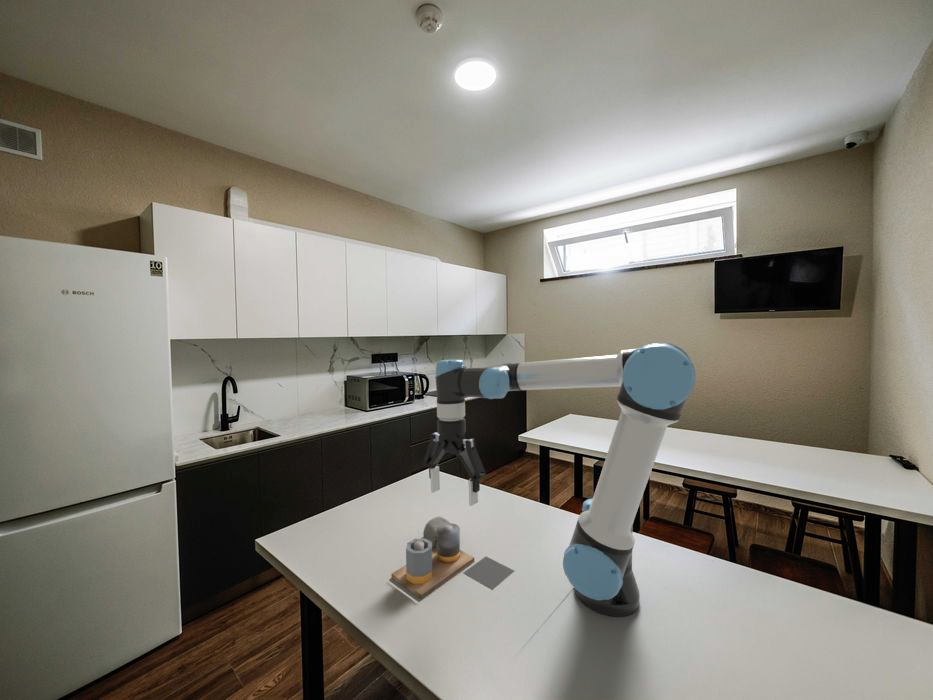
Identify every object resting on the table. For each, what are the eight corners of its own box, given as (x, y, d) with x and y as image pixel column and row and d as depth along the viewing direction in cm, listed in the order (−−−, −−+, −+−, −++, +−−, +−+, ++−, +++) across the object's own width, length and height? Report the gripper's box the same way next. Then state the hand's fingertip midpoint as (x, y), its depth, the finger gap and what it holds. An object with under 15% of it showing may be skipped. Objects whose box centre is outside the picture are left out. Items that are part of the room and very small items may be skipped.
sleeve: (437, 574, 97) (436, 544, 97) (418, 587, 92) (417, 556, 92) (420, 564, 102) (420, 535, 101) (401, 575, 97) (401, 546, 96)
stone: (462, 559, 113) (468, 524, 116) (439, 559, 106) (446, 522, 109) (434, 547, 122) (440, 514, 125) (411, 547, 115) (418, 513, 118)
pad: (514, 572, 101) (514, 570, 101) (492, 591, 93) (492, 589, 93) (485, 557, 107) (485, 556, 107) (463, 574, 100) (462, 572, 100)
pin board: (474, 562, 105) (474, 528, 104) (421, 600, 90) (421, 560, 89) (444, 546, 113) (444, 514, 112) (391, 579, 98) (391, 542, 97)
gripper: (498, 420, 92) (500, 504, 93) (428, 410, 108) (430, 482, 109) (479, 426, 87) (482, 515, 87) (409, 415, 103) (411, 490, 103)
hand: (453, 497), depth 98 cm, fingers open, 13 cm apart
